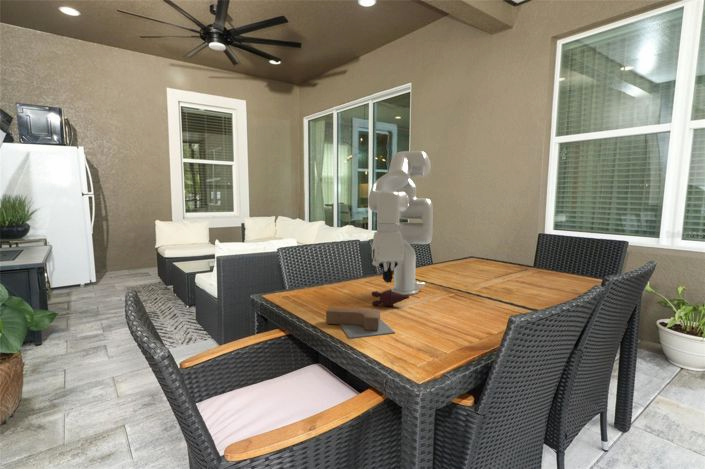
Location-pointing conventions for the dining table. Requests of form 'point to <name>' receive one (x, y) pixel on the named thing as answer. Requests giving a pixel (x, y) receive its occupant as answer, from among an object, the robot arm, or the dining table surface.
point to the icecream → (388, 298)
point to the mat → (359, 331)
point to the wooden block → (354, 317)
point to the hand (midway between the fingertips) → (387, 281)
